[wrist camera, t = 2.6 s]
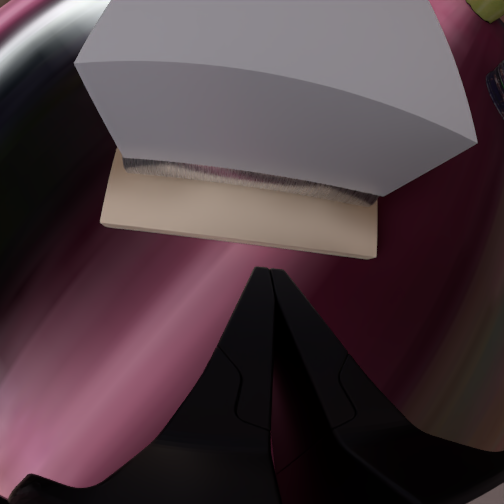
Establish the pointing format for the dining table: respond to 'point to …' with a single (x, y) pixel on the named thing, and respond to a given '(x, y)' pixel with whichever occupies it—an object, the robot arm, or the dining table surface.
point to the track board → (237, 214)
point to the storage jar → (497, 87)
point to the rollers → (247, 180)
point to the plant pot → (488, 9)
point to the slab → (281, 87)
